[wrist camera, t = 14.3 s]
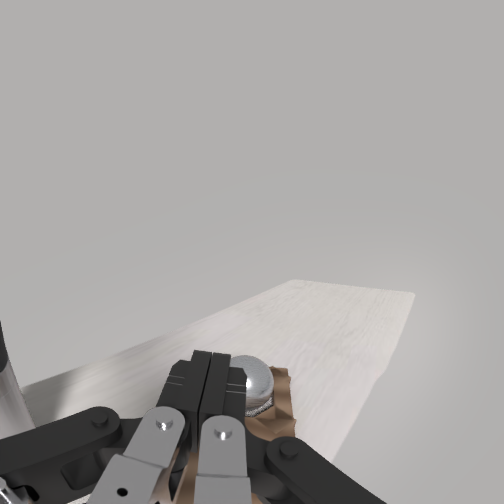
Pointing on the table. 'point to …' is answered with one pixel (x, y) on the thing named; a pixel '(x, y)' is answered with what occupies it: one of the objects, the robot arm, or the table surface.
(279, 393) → the wooden board
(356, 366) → the table surface
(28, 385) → the table surface
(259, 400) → the steel ball
